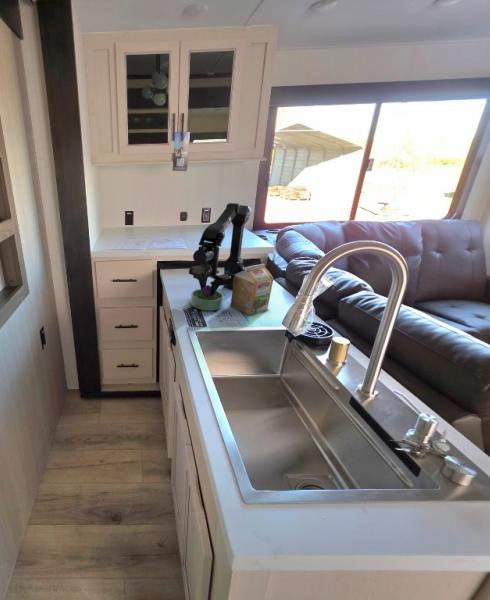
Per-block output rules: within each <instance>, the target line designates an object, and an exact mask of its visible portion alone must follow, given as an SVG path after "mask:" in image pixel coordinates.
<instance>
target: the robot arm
mask: <svg viewBox="0 0 490 600" xmlns="http://www.w3.org/2000/svg"><path fill="white" fill-rule="evenodd" d="M251 214H252V209H251V207H250V206H249V205H243V204H240V203H237V202H236V203H235V202H229V203H227V204H226V207H225V209H224V210H223V211H222V213H221V214H220V215H219V217H218V218H217V220H215V222H213V223H211V224H209V225H208V226H207V227H206V228H205V229H204V230H203V232H202V235H201V237H200V239H199V242H198V249H197V250H195V251H194V252H193V255H192V259H193V262H194V263H195V264H197V265H193V266H191V267H189V269H188V275H191V276H192V278H193V279H196V280H197V281H198V283H199V287H200V289H201V291H202V288H203V287H204V286H206V285H207V284H208V283H207V281H208V279H209V278H210V279H213V280H212V281H210V282H209V284H210V286H211V296H213V295H214V293H215V292H216V291H218V289H219V287H222V286H223V287H224V288H226V289H229V290H232V291H233V283H234V276H235V275H236V274H237V273H239V272H242V271H245V270H246V268H245V267H244V260H243V258H242V256H241V253H242V246H243V238H244V231H245V225H246V223H247V222H249V219H250V216H251ZM230 224H231V225H232V230H231V231H232V232H231V240H230V241H231V242H230V250H229V251H230V252H229V256H228V258H227V259H225V261H224V265H223V273H222V274H219V273H220V271H219V270H218V266H219V265H220V264H221V261H220V260H219V257H220V256H219V255H220V248H221V247H222V243H223V241H224V240H225V236H226V233H225V231H226V230H227V228H228V227H229V226H230Z"/></svg>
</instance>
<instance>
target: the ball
mask: <svg viewBox="0 0 490 600" xmlns="http://www.w3.org/2000/svg"><path fill="white" fill-rule="evenodd" d="M202 294H203V295H204V296H205V297H210V296H211V285H208V284H206V286H204V287H203V288H202Z"/></svg>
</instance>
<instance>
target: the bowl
mask: <svg viewBox="0 0 490 600" xmlns="http://www.w3.org/2000/svg"><path fill="white" fill-rule="evenodd" d="M223 300H224V295H223V293H222V292H221V291H218V290H216V292H215V293H214V295H213V296H210V297H205V296H204V295H203V294H202V291H201V288H199V289H198V288H197V289H194V290H193V291H191V295H190V304H191V306H192V307H194V308H195V309H198V310H202V311H211V312H212V311H218V310H220V309H221V308H222V307H223V302H224V301H223Z"/></svg>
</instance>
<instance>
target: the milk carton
mask: <svg viewBox="0 0 490 600" xmlns="http://www.w3.org/2000/svg"><path fill="white" fill-rule="evenodd" d="M265 266H266V264H265V263H260V264H256V265H255V264H254V265H249V266H246V267H245V271H242V272H239V273H237V274H236V275H235V276H234V283H233V290H232V292H231V299H230V304H229V306H230V307H231V308H233V309H236V310H238V311H239V312H241V313H243V314H245V315H247V316H252V315H256V314H259V313H263V312H266V311H268V308H269V304H270V298H271V293H272V289H273V283H274V277H273V275H272V274H271V273H270V271H269V270H268V269H267V268H266V267H265Z"/></svg>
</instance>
